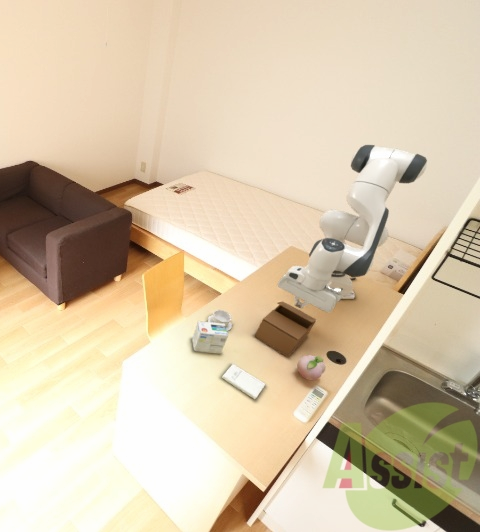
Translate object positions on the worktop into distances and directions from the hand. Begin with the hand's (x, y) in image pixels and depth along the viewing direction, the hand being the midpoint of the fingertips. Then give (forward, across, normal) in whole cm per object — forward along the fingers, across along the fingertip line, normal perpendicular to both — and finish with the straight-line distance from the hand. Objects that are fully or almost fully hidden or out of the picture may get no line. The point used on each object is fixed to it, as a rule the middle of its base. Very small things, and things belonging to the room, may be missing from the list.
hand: (298, 306), depth 140 cm
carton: (+15, 0, +3) cm, 16 cm away
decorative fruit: (+15, -15, +15) cm, 26 cm away
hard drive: (+15, -2, +36) cm, 40 cm away
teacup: (+15, +20, +17) cm, 30 cm away
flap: (+4, 0, -1) cm, 4 cm away
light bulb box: (+15, +16, +33) cm, 40 cm away
